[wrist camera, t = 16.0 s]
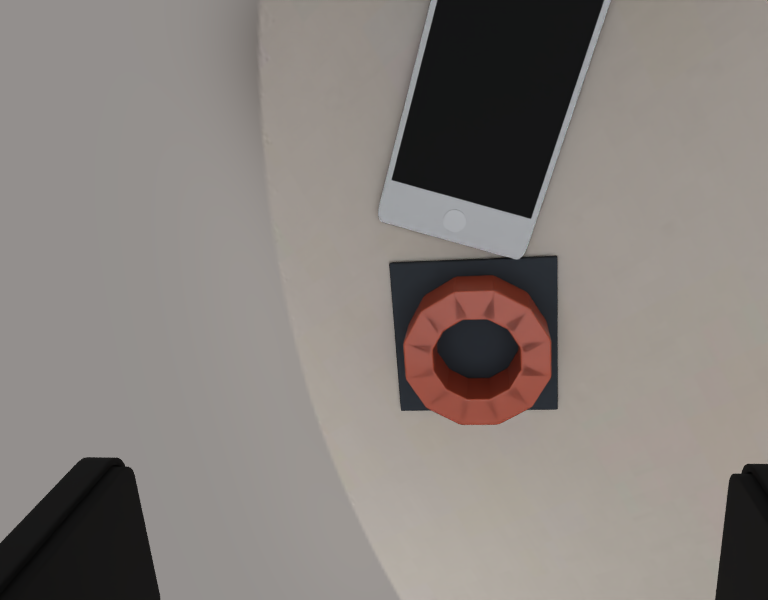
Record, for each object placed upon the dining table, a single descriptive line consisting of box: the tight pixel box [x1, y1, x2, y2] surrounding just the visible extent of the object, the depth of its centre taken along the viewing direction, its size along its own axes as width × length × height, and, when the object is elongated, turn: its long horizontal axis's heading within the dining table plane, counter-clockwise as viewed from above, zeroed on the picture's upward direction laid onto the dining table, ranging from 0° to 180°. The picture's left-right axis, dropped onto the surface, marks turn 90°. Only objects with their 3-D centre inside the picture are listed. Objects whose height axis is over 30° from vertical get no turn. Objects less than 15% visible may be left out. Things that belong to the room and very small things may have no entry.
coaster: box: [389, 256, 558, 411], centre depth 35 cm, size 8×8×1 cm
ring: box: [403, 275, 551, 425], centre depth 33 cm, size 7×7×2 cm
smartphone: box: [378, 0, 611, 259], centre depth 30 cm, size 7×16×1 cm, turn 166°
